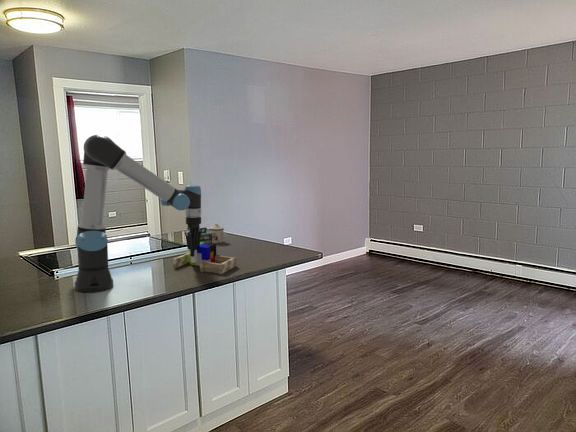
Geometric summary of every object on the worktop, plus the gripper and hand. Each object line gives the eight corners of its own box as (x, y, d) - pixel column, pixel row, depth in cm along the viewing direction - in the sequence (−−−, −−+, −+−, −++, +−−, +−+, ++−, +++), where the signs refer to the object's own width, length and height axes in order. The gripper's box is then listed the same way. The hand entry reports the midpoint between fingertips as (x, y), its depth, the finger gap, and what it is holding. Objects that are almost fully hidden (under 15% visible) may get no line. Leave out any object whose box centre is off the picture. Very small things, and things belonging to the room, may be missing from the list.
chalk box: (206, 249, 255) (206, 225, 252) (213, 253, 247) (213, 228, 245) (191, 251, 250) (191, 226, 247) (197, 255, 242) (197, 229, 240)
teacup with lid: (206, 241, 274) (206, 224, 272) (215, 239, 282) (215, 222, 280) (221, 244, 268) (221, 226, 267) (230, 242, 276) (230, 224, 274)
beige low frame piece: (220, 274, 208) (220, 264, 207) (173, 267, 217) (172, 257, 216) (237, 265, 224) (237, 256, 224) (192, 259, 234) (192, 250, 233)
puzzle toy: (207, 266, 220) (207, 247, 219) (190, 264, 223) (189, 245, 221) (216, 261, 230) (216, 243, 228) (199, 259, 233) (199, 241, 231)
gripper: (192, 218, 207) (193, 266, 211) (206, 215, 219) (207, 260, 223) (179, 217, 210) (180, 264, 213) (194, 213, 222) (194, 258, 225)
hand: (193, 262), depth 218 cm, fingers closed
